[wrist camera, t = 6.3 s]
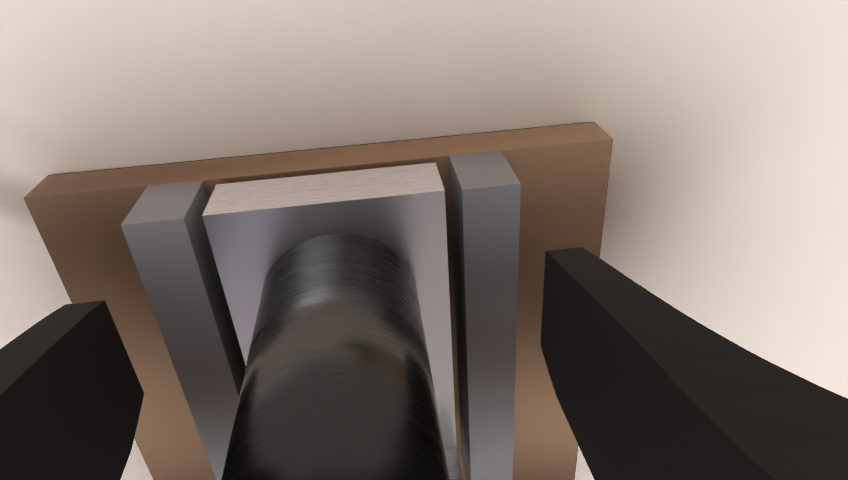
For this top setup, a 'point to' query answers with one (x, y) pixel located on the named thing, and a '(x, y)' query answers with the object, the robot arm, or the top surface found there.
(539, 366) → the bench
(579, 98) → the top surface
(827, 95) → the top surface
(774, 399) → the robot arm
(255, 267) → the ram
